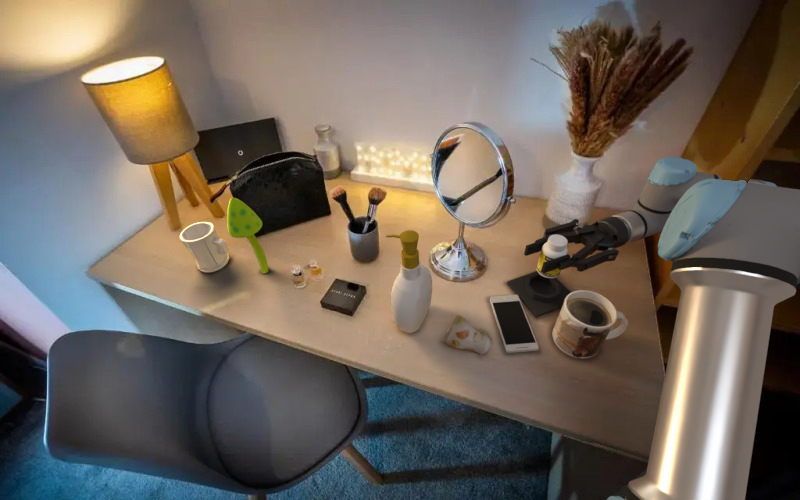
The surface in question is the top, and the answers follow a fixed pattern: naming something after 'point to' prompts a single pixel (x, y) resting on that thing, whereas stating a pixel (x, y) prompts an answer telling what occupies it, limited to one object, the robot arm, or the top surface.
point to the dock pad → (538, 289)
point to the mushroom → (246, 227)
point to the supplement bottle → (552, 254)
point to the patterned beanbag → (467, 336)
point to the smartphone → (513, 324)
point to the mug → (586, 324)
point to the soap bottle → (410, 286)
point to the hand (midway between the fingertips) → (534, 259)
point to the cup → (205, 246)
